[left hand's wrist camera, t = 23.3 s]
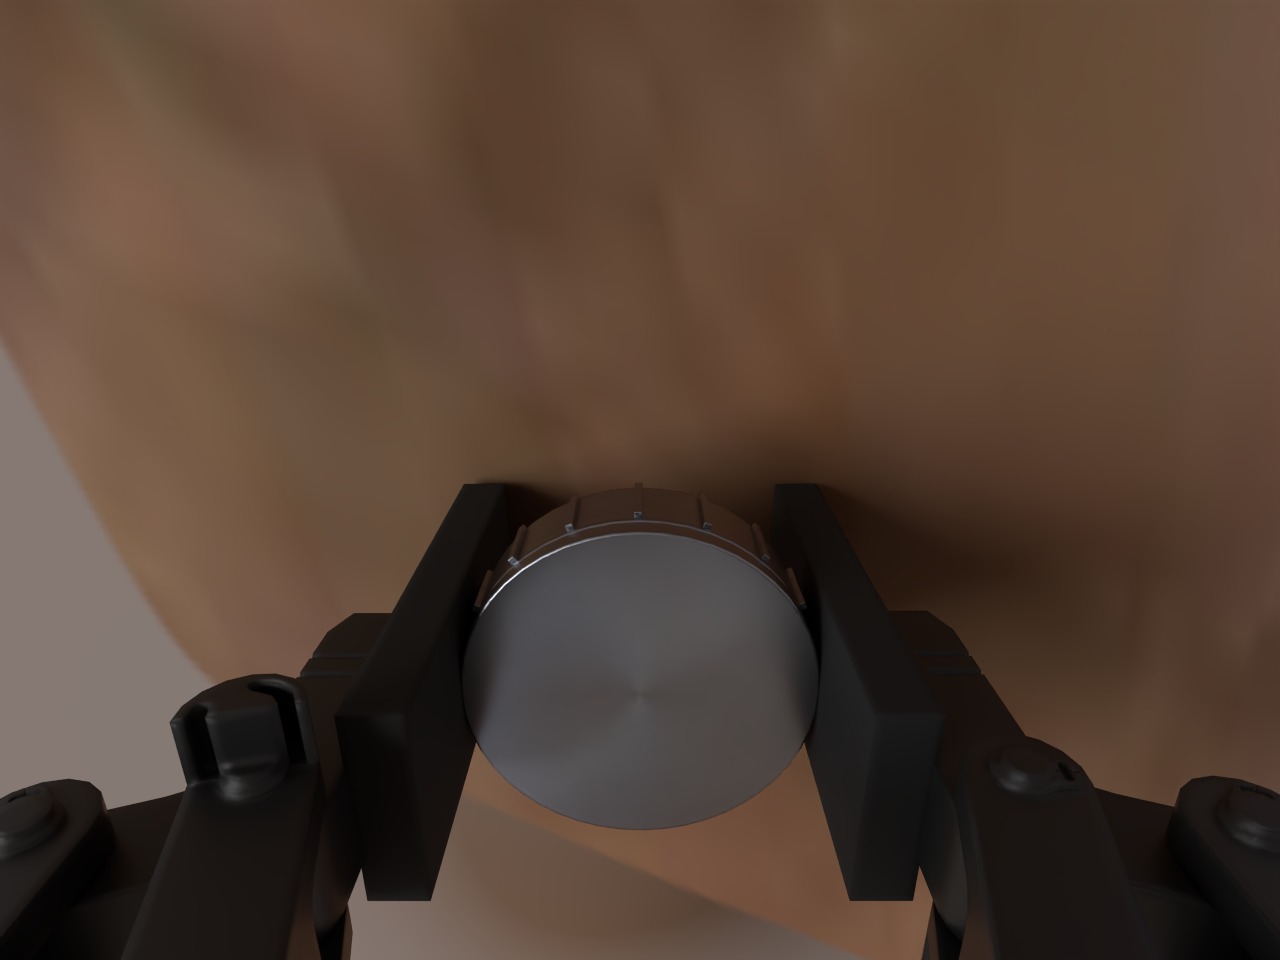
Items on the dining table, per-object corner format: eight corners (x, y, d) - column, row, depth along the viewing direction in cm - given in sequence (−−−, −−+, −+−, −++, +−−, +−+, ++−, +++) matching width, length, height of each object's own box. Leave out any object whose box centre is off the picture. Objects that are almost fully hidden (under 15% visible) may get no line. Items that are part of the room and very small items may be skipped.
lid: (461, 482, 11) (434, 528, 10) (816, 479, 11) (841, 524, 10) (490, 761, 13) (470, 834, 12) (793, 759, 13) (811, 832, 12)
